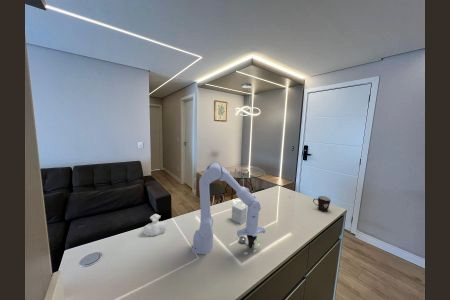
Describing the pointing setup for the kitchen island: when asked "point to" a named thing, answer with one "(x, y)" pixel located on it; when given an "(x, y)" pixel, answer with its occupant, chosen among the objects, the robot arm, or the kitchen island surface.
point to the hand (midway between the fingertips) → (250, 246)
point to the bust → (155, 226)
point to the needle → (243, 241)
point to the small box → (239, 213)
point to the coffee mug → (323, 203)
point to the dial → (255, 249)
